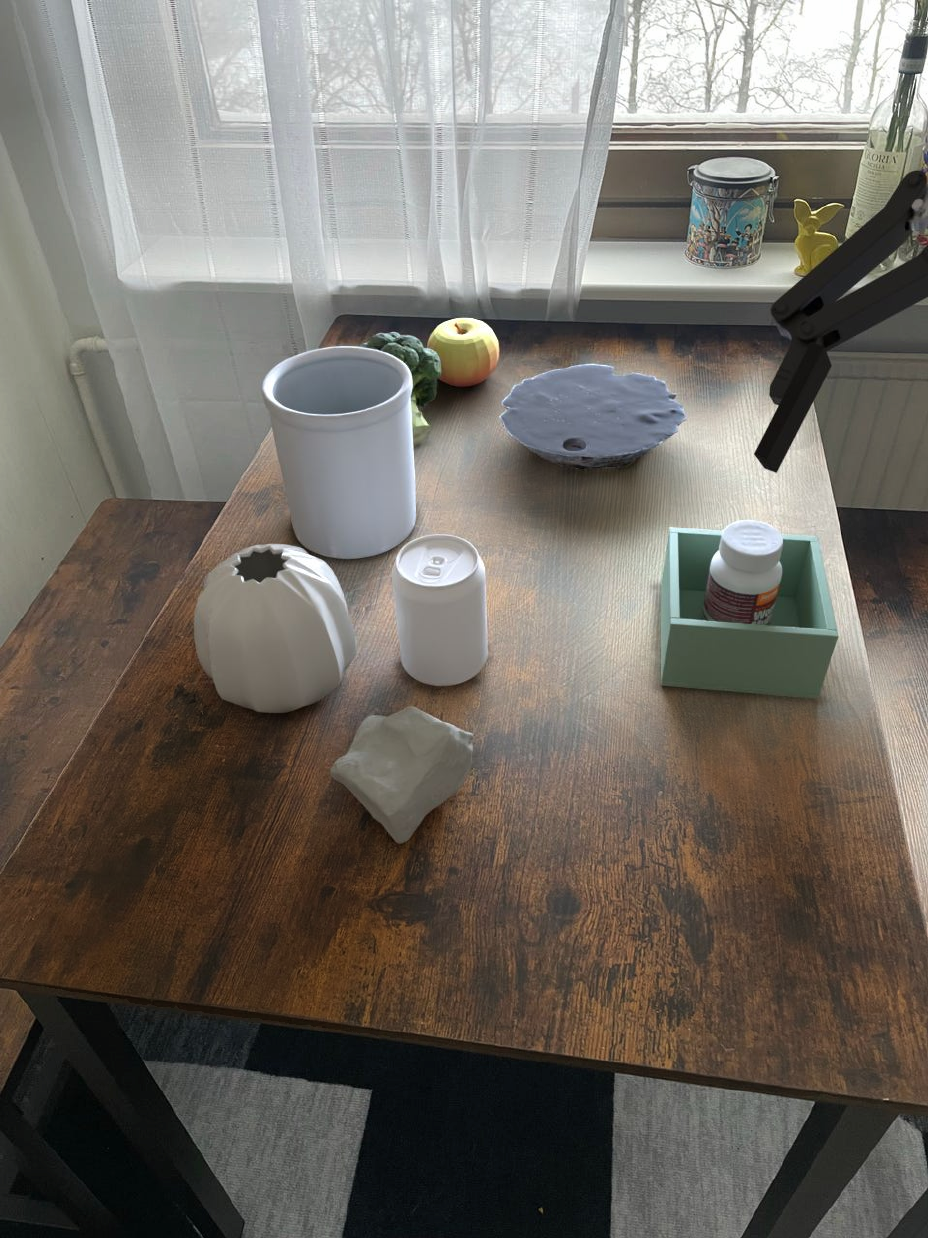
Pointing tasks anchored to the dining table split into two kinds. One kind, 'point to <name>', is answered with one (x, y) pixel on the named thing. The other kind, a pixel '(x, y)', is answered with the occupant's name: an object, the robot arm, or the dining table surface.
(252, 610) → the vase
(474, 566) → the beverage can
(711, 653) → the bin
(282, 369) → the utensil holder
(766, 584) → the pill bottle
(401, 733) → the decorative stone
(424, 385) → the vegetable
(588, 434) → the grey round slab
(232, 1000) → the dining table surface
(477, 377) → the apple
